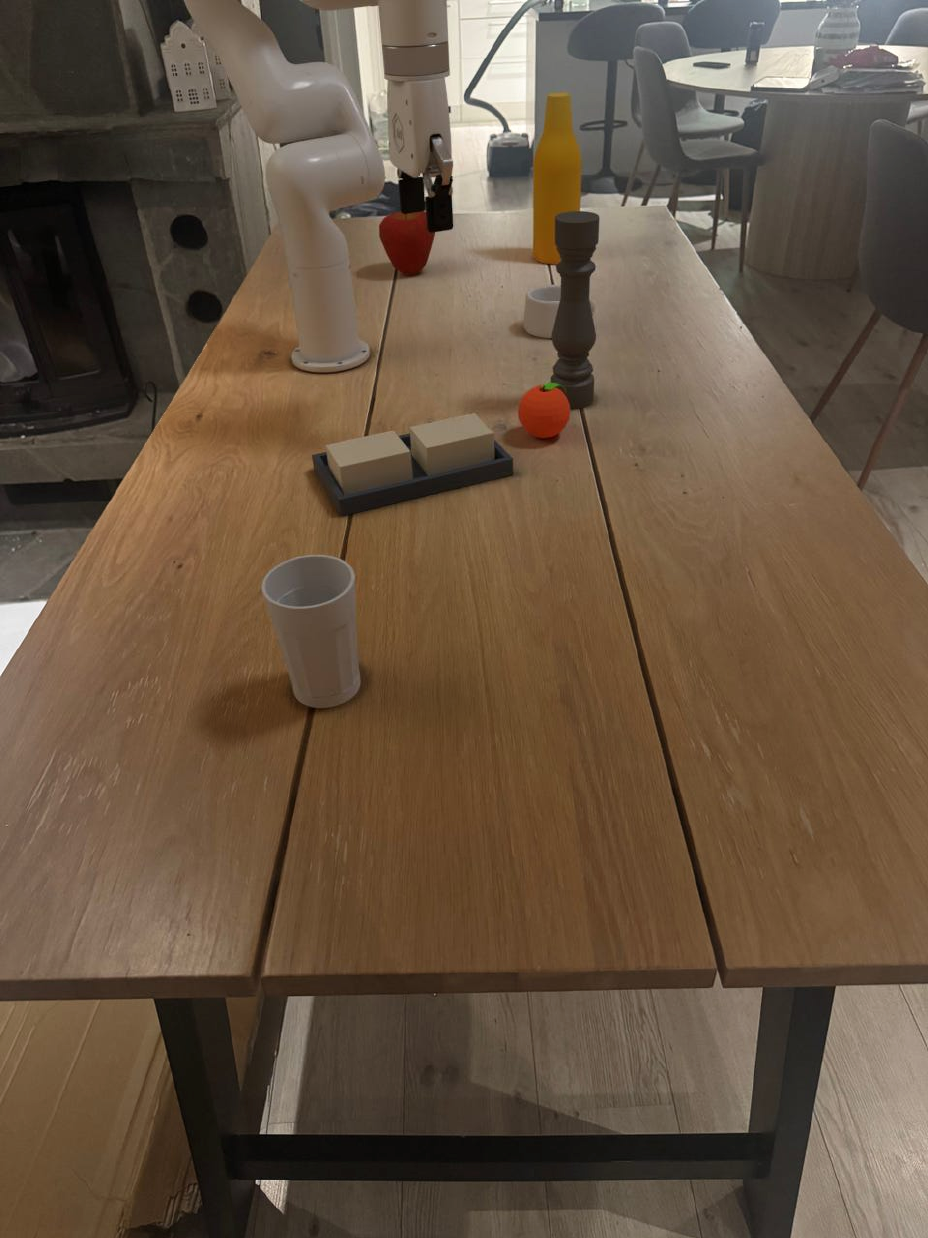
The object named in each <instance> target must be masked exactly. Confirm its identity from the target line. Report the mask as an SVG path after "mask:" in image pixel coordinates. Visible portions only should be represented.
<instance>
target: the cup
mask: <svg viewBox="0 0 928 1238" xmlns="http://www.w3.org/2000/svg"><path fill="white" fill-rule="evenodd" d="M261 593H262V595H263V599H264V602H265V605H266V608H267V610H268V614H269V617H270V620H271V622H272V625H273V629H274V632H275V635H276V638H277V639H276V640H277V641H278V644H279V645H278V646H279V647H280V651H281V654H282V657H283V661H284V664H285V666H286V670H287V674H288V677H289V679H290V683H291V687H292V693H293V696H294V697H295V699H296V700H297V701H298V702H299V703H301V704H302V705H304V706H307V707H310V708H315V709H328V708H334V707H337V706H340V705H342V704H345V703H347V702H348V701H350V700H351V699H353V698H354V696H356V694H357V693H358V692H359V690H360V688H361V683H362V682H361V674H360V667H359V653H358V651H359V650H358V633H357V615H356V614H357V613H356V609H357V600H356V575H355V571H354V569H353V567H352V566H351V565H350V564H349V563H348V562H347V561H345V560H343V559H341V558H339V557H336V556H333V555H326V554H307V555H306V554H305V555H300V556H296V557H293V558H289V559H287V560H285V561H282V562H281V563H279V564H277V565H276V566H274V567H272V568H271V569H269V571H268V572H267V573H266V574H265V576H264V577H263V579H262V582H261Z"/></svg>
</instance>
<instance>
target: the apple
mask: <svg viewBox="0 0 928 1238" xmlns="http://www.w3.org/2000/svg"><path fill="white" fill-rule="evenodd" d="M378 237H379V240H380V242H381V244H382V247H383V249H384V251H385V254H386V256H387V258H388V259H389V261H390V263H391V265H392V267H393V268H394V269H395V270H396V271H398V272H400V273H401V274H402V275H405V276H416V275H419V274H420V273H421V272H422V271H423V269H424V268H425V267H426V266H427V264H428V261H429V257H430V254H431V251H432V248H433V244H434V240H435V237H436V232H434V233H430V232H429V231H428V230H427V220H426V211H425V210H424V211H422V212H415V213H408V214H403V213H402V212H401V211H399V212H398V211H397V212H394V213H390V214H388V215H386V216H384V218H382V220H381V222H380V223H379V224H378Z"/></svg>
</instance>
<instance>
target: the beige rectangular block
mask: <svg viewBox="0 0 928 1238" xmlns="http://www.w3.org/2000/svg"><path fill="white" fill-rule="evenodd" d="M409 433H410V440H411V452H412V456H413V457H414V458H415V460H416V461H417V462H418V463H419V465H420V466H421V467H422V469H423V470H424V471H425V472H426V474H427V475H428V476H429V475H433V474H437V473H441V472H446V471H450V470H454V469H458V468H463V467H467V466H471V465H475V464H480V463H484V462H488V461H492V460H494V440H495V433H494V431H493V430H492V429H490V427H489V426H488V425H487V424H486V423H485V422H484V420H482V419H481V418H480V417H479V416H478V415H477V414H476V413H475V412H473V413H467V414H463V415H459V416H453V417H449V418H445V419H440V420H436V421H431V422H427V423H421V424H417V425H414V426H412V425H411V426H409Z"/></svg>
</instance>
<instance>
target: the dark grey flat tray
mask: <svg viewBox="0 0 928 1238" xmlns="http://www.w3.org/2000/svg"><path fill="white" fill-rule="evenodd" d="M398 436H399V438H400V439H401V440H402V441H403V443H404V444H405V445H406V446H407V448H408V449H409V450H410V452H411V440H410V432H409V433H405V434H402V435H401V434H400V435H398ZM311 458H312V465H313V471H314V473H315V474H316V476H317V478H318V479H319V481H320V483H321V484H322V487H323V488H324V489H325V491H326V493H327V494H328V497H329V498H330V500H331V501H332V503H333V505H334V506H335V508H336V510H337V511H338V513H339V515H340V516H341V517H344V516H348V515H352V514H358V513H361V512H365V511H369V510H373V509H377V508H381V507H385V506H390V505H394V504H398V503H402V502H403V503H404V502H407V501H409V500H416V499H420V498H424V497H428V496H431V495H436V494H440V493H443V492H447V491H452V490H456V489H459V488H460V489H461V488H465V487H468V486H472V485H477V484H481V483H485V482H488V481H493V480H497V479H501V478H506V477H510V476H513V475H514V458H513V456H511V455H510V454H509V452H507V451H506V450H505V449H504V448H503V446H501V445H500V444H499V443H498V441H496V439H494V460H492V461H488V462H484V463H480V464H475V465H471V466H467V467H463V468H458V469H454V470H450V471H446V472H441V473H437V474H433V475H429V476H428V475H427V474H426V472H425V471H424V470H423V469H422V467H421V466H420V465H419V463H418V462H417V461H416V460H415V458H414V457H413V456H412V452H411V464H412V475H413V479H412V480H407V481H403V482H399V483H395V484H390V485H386V486H382V487H378V488H373V489H369V490H365V491H361V492H356V493H352V494H348V495H344V496H343V494H342V492H341V491H340V489H339V487H338V486H337V484H336V483H335V481H334V479H333V478H332V476H331V474H330V472H329V465H328V459H327V452H326V451H323V452H319V453H314V454H312V455H311Z"/></svg>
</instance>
